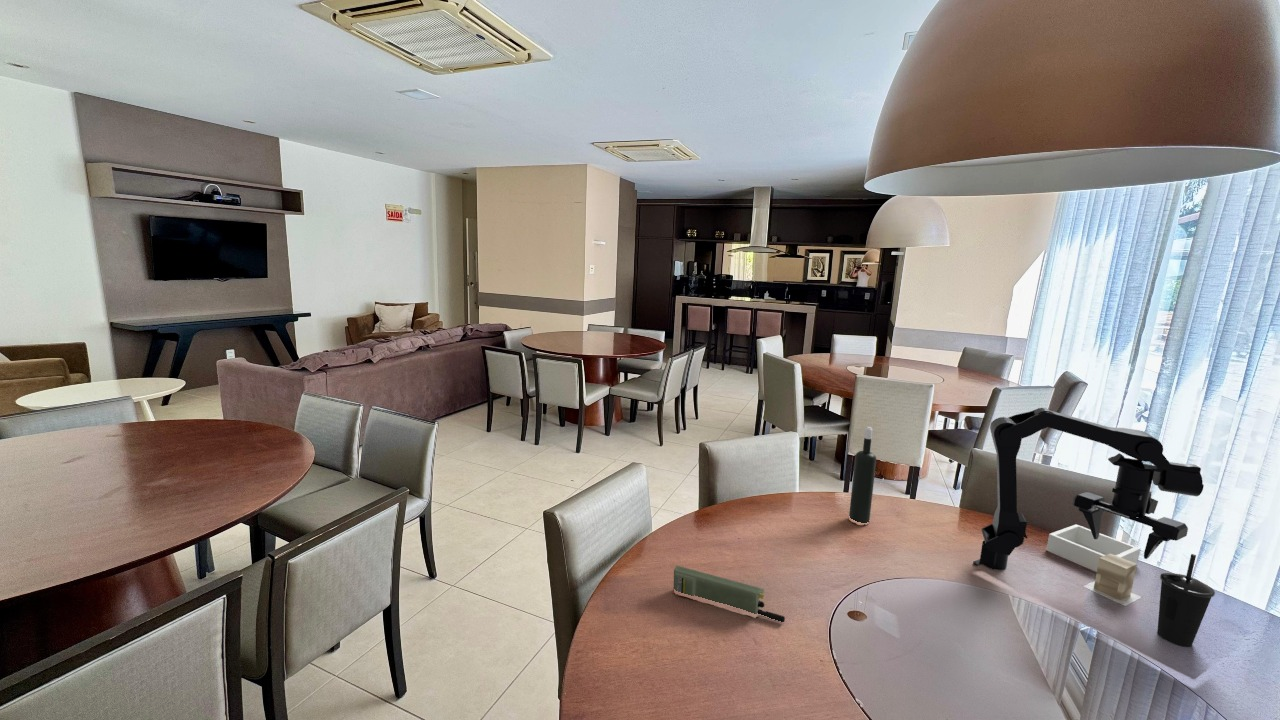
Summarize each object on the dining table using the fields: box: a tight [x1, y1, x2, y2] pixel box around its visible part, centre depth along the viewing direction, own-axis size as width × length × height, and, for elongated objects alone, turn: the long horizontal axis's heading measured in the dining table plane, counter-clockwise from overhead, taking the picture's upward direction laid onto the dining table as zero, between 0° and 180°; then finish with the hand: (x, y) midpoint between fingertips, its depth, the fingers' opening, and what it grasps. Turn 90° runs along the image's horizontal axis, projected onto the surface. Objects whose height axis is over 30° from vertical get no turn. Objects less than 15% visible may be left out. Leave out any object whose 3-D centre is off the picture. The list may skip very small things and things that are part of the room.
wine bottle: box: [848, 426, 877, 523], centre depth 152 cm, size 6×6×30 cm
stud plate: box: [1082, 580, 1142, 607], centre depth 120 cm, size 8×8×5 cm
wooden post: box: [1094, 554, 1138, 600], centre depth 120 cm, size 5×5×8 cm
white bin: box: [1046, 523, 1141, 573], centre depth 135 cm, size 14×14×6 cm
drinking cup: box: [1156, 553, 1216, 648], centre depth 104 cm, size 8×8×20 cm
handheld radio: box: [673, 565, 786, 623], centre depth 112 cm, size 7×3×25 cm
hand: (1120, 548), depth 119 cm, fingers open, 9 cm apart
